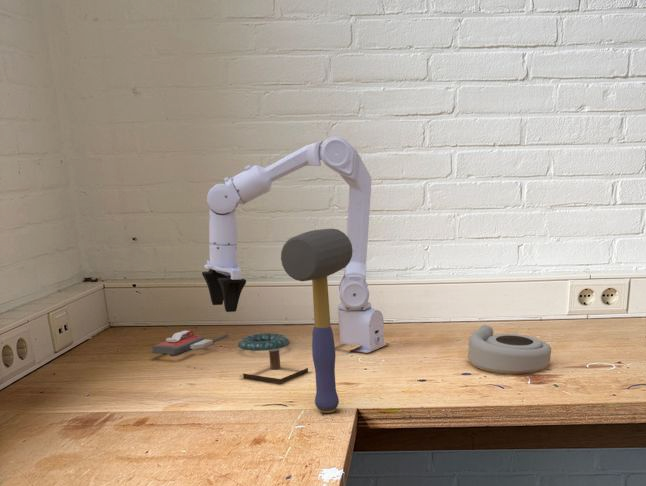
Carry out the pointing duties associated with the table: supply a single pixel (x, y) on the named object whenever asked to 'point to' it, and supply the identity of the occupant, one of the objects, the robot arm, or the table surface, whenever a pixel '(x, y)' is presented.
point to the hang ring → (263, 341)
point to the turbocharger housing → (507, 352)
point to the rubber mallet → (319, 298)
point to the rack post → (275, 365)
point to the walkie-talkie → (183, 343)
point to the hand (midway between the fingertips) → (224, 308)
